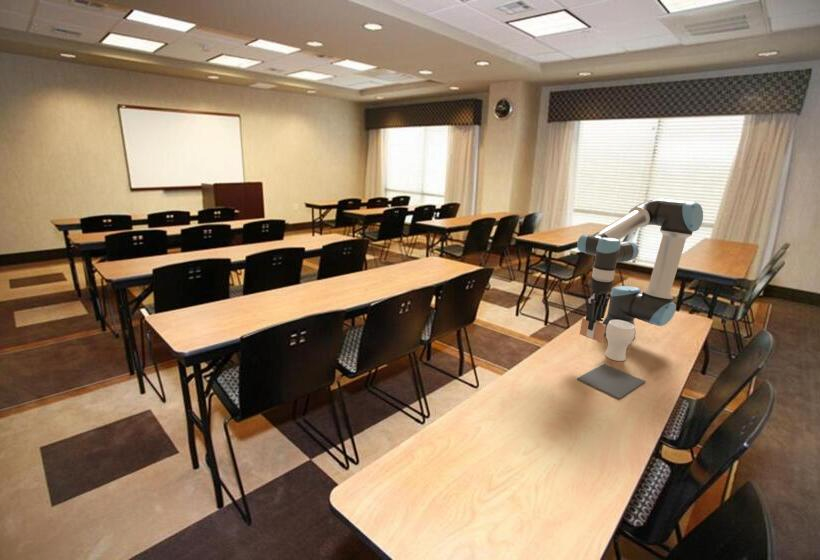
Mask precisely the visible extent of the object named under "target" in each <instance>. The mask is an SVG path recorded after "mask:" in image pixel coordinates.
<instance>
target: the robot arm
mask: <svg viewBox="0 0 820 560" xmlns="http://www.w3.org/2000/svg"><path fill="white" fill-rule="evenodd" d="M703 219H704V209H703V207H702V206H701V204H700V203H699V202H696V201H691V200H682V199H681V200H680V199H669V198H654V199H649V200H647V201H644V202H642V203H640V204H637V205H635V206H634V207H632V208H631V209H630V210H629V212H628V213H626V214H625V215H623V216H622V217H620V218H618V219H617V220H615V221H614V222H612V223H610V224H609V225H607V226H605V227H603V228H601V229H600V230H599V231H597V232H595V233H593V234H592V235H590V234H582V235H580V237H579V238H578V239H577V242H576V245H577V247H576V249H577V250H578V251H579V252H581V253H584V254H586V255H591V256H595V257H594V264H593V268H592V274H591V277H592V278H591V279H590V284H589V288H591V289H592V292H591V294H590V295H591V296H590V297H587V298H586V310H585V311H586V313H585V317H586V320H587V321H589V324H588V329H587V334H586V336H588V337H590V338H589V339H591V338H594V334H595V328H596V322H595V321H597V322H600V323H602V324H605V325H606V328H607V325H608V323H609V321H610V320H622V321H626V322H629V323H631V324H633V325H634V326H635V327H636V325H635V319H636V320H640V321H642V322H644V323H648V324H650V325H653V326H657V327H663V326H666V325H667V324H668V323H669V322H670V321H671V320H672V318H673V317H674V315H675V313H676V311H677V305H676V303H675V302H674V301H673V299H674V297H673V294H671V291H672V288H673V285H674V282H675V278H676V274H677V271H678V268H679V264H680V260H681V257H682V255H683V252H684V248H685V243H686V241H687V239H688V238H689V237H692V235H693V232H697V231H699V230H700V228H701V227H702V223H703V221H704V220H703ZM647 226H658V227H660V229H659V231H660V233H661V234H662V237H661V241H660V244H659V248H658V251H657V256H656V257H655V258H656V259H655V261H654V264H653V265H654V266H653V268H652V272H651V276H650V280H649V284H648V287H647V288H645V289H644V290H643V291H642V292H641V289H640V288H639V287H636V286H631V285H620V286H614V287H613V284H614V282H613V280H614V279H615V273H616V268H617V263H623V262H630V261H634V260H635V259H636V258H637V257H638V255H639V250H640V249H639V246H638V245H637V244H636V242H633V241H627V240H626V241H622V240H621V239H623V238H624V237H627V235H630V234H631V233H632V232H634V231H636V230H637V229H639V228H645V227H647ZM612 287H613V288H612ZM608 292H611V293H608ZM607 309H608V310H607ZM606 312H607V313H606ZM603 319H604V320H603ZM636 333H637V331H636V330H635V335H634V338H635V337H636ZM604 335H606V329H605V334H604ZM586 336H585V337H586ZM588 337H587V338H588Z"/></svg>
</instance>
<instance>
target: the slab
mask: <svg viewBox="0 0 820 560" xmlns="http://www.w3.org/2000/svg"><path fill="white" fill-rule="evenodd" d="M595 322H596V328H595V334H594V338H590V337H588V336H586V334H587V329H588V324H589V321H587V320H586V316H584V317H582V319H581V323H580V324H581V325H580V330H579V335H581V336H583V337H586V338H589V339H591V340H594V341H596V342H598V343H603V342H604V338H605V337H604V336H605V335H606V334H605V329H606V325H605V324H602V323H603V322H601V321H600V322H597V321H595Z"/></svg>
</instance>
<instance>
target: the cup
mask: <svg viewBox="0 0 820 560" xmlns="http://www.w3.org/2000/svg"><path fill="white" fill-rule="evenodd" d="M635 331H636V325H635V326H634V325H633V324H631V323H629V322H626V321H622V320H610V321H609V323H608V325H607V328H606V334H605V337H606V339H607V348H606V351H605V354H604V355H605V357H607V358H608V359H610V360H613V361H617V362H624V361H625V360H626V353H627V352H626V351H627V349H628V346H630V344H631V343H632V342H633V340H634V338H635V337H634V335H635V336H636V334H635Z"/></svg>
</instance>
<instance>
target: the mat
mask: <svg viewBox="0 0 820 560" xmlns="http://www.w3.org/2000/svg"><path fill="white" fill-rule="evenodd" d="M576 380H577V381H579V382H581V383H583V384H585V385H587V386H590V387H592V388H594V389H595V390H597V391H600V392H602V393H604V394H607V395H609V396H611V397H612V398H615V399H617V400H621V399H622V398H624V397H625V396H627V395H629V394H630V393H631V392H633V391H634V390H636V389H638V388H639V387H640V386H642V385H644V384H646V380H644V379H642V378H640V377H637V376H635V375H632V374H630V373H627V372H625V371H623V370H620V369H618V368H615V367H613V366H612V365H609V364H605V363H603V364H601V365H598V366H597V367H595V368H593V369H592V370H589V371H588V372H586V373H584V374H582V375H579V376H578V377H577V378H576Z"/></svg>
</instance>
